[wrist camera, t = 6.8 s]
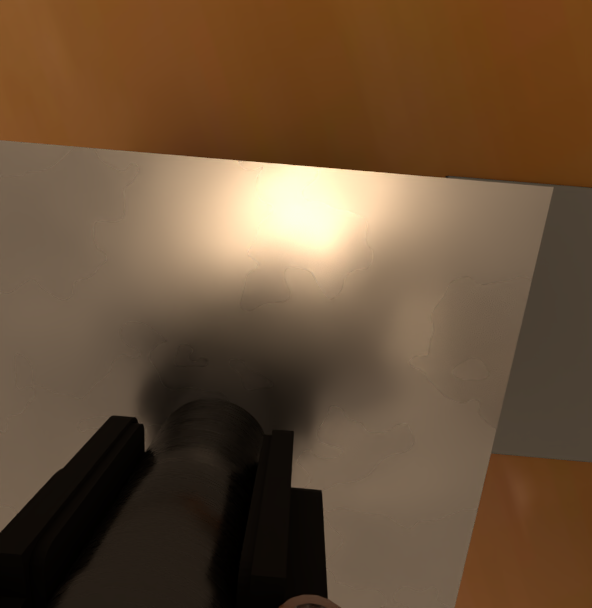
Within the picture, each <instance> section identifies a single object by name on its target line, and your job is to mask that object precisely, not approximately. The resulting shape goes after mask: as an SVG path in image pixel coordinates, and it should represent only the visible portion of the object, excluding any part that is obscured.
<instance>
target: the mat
mask: <svg viewBox="0 0 592 608" xmlns="http://www.w3.org/2000/svg"><path fill="white" fill-rule="evenodd" d="M446 178H451V179H463V180H475V181H487V182H499V183H510V184H522V185H534V186H546V187H554V188H553V193H552V197H551V201H550V205H549V210H548V214H547V218H546V222H545V226H544V231H543V235H542V239H541V243H540V248H539V252H538V256H537V260H536V265H535V269H534V273H533V277H532V281H531V286H530V290H529V294H528V298H527V303H526V307H525V311H524V315H523V320H522V324H521V328H520V332H519V336H518V341H517V345H516V349H515V353H514V358H513V362H512V366H511V370H510V375H509V379H508V383H507V387H506V391H505V396H504V400H503V404H502V408H501V413H500V417H499V421H498V425H497V430H496V434H495V438H494V442H493V446H492V451H491V453H494V454H505V455H516V456H527V457H538V458H550V459H561V460H572V461H583V462H592V188H586V187H574V186H562V185H550V184H538V183H526V182H514V181H502V180H490V179H479V178H467V177H455V176H446Z"/></svg>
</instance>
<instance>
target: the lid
mask: <svg viewBox="0 0 592 608" xmlns="http://www.w3.org/2000/svg"><path fill="white" fill-rule="evenodd" d="M553 188H554V187H546V186H534V185H522V184H510V183H499V182H487V181H475V180H463V179H451V178H439V177H427V176H416V175H404V174H392V173H380V172H368V171H356V170H345V169H333V168H321V167H309V166H297V165H285V164H274V163H262V162H250V161H238V160H226V159H214V158H202V157H191V156H179V155H167V154H155V153H143V152H131V151H120V150H108V149H96V148H84V147H72V146H60V145H48V144H37V143H25V142H13V141H1V140H0V532H1V531H2V530H3V529H4V528H5V527H6V526H7V524H8V523H9V522H10V521H11V520H12V519H13V518H14V517H15V516H16V515H17V514H18V513H19V512H20V510H21V509H22V508H23V507H24V506H25V505H26V504H27V503H28V502H29V501H30V500H31V499H32V498H33V496H34V495H35V494H36V493H37V492H38V491H39V490H40V489H41V488H42V487H43V486H44V485H45V484H46V483H47V481H48V480H49V479H50V478H51V477H52V476H53V475H54V474H55V473H56V472H57V471H58V470H60V469H62V468H64V466H65V465H66V464H67V463H68V462H69V461H70V460H71V459H72V458H73V457H74V456H75V454H76V453H77V452H78V451H79V450H80V449H81V448H82V447H83V446H84V445H85V444H86V442H87V441H88V440H89V439H90V438H91V437H92V436H93V435H94V434H95V433H96V432H97V430H98V429H99V428H100V427H101V426H102V425H103V424H104V423H105V422H106V421H107V420H108V419H109V417H111V416H113V415H116V416H128V417H136V418H137V420H138V423H139V424H143V425H144V433H145V453H144V455H143V456H142V458H141V459H140V461H139V462H138V464H137V466H136V467H135V469H134V470H133V472H132V473H131V475H130V476H129V478H128V479H127V481H126V483H125V484H124V486H123V487H122V489H121V490H120V492H119V493H118V495H117V496H116V498H115V500H114V501H113V503H112V504H111V506H110V507H109V509H108V510H107V512H106V513H105V515H104V517H103V518H102V520H101V521H100V523H99V524H98V526H97V527H96V529H95V530H94V532H93V533H92V535H91V537H90V538H89V540H88V541H87V543H86V544H85V546H84V547H83V549H82V550H81V552H80V554H79V555H78V557H77V558H76V560H75V561H74V563H73V564H72V566H71V567H70V569H69V571H68V572H67V574H66V575H65V577H64V578H63V580H62V581H61V583H60V584H59V586H58V588H57V589H56V591H55V592H54V594H53V595H52V597H51V598H50V600H49V601H48V603H47V605H46V606H45V608H236V597H237V582H238V573H239V565H240V559H241V553H242V548H243V542H244V537H245V532H246V526H247V521H248V515H249V510H250V505H251V499H252V494H253V489H254V483H255V478H256V472H257V467H258V462H259V456H260V451H261V446H262V440H263V435H264V434H265V435H272V431H273V429H277V430H288V431H294V441H293V459H292V477H291V487H294V488H305V489H316V490H322V498H323V516H324V535H325V553H326V572H327V590H328V599H329V600H331V601H332V602H334V603H335V604H336V605H338V606H339V607H341V608H454V607H455V603H456V599H457V595H458V590H459V586H460V582H461V578H462V573H463V569H464V565H465V561H466V556H467V552H468V548H469V544H470V540H471V535H472V531H473V527H474V523H475V518H476V514H477V510H478V506H479V501H480V497H481V493H482V489H483V485H484V480H485V476H486V472H487V468H488V463H489V459H490V455H491V451H492V446H493V442H494V438H495V434H496V430H497V425H498V421H499V417H500V413H501V408H502V404H503V400H504V396H505V391H506V387H507V383H508V379H509V375H510V370H511V366H512V362H513V358H514V353H515V349H516V345H517V341H518V336H519V332H520V328H521V324H522V320H523V315H524V311H525V307H526V303H527V298H528V294H529V290H530V286H531V281H532V277H533V273H534V269H535V265H536V260H537V256H538V252H539V248H540V243H541V239H542V235H543V231H544V226H545V222H546V218H547V214H548V210H549V205H550V201H551V197H552V193H553Z"/></svg>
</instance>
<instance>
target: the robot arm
mask: <svg viewBox="0 0 592 608" xmlns="http://www.w3.org/2000/svg"><path fill="white" fill-rule="evenodd" d="M293 441H294V431H288V430H277V429H273V431H272V435H265V434H264V435H263V440H262V446H261V451H260V456H259V462H258V467H257V472H256V478H255V483H254V489H253V494H252V499H251V505H250V510H249V515H248V521H247V526H246V532H245V537H244V542H243V548H242V553H241V559H240V565H239V573H238V582H237V597H236V608H341V607H339V606H338V605H336V604H335V603H334V602H332V601H331V600H329V599H328V590H327V572H326V553H325V535H324V516H323V498H322V490H316V489H305V488H294V487H291V477H292V459H293ZM144 453H145V433H144V425H143V424H139V423H138V420H137V418H136V417H128V416H116V415H113V416H111V417H109V419H108V420H107V421H106V422H105V423H104V424H103V425H102V426H101V427H100V428H99V429H98V430H97V432H96V433H95V434H94V435H93V436H92V437H91V438H90V439H89V440H88V441H87V442H86V444H85V445H84V446H83V447H82V448H81V449H80V450H79V451H78V452H77V453H76V454H75V456H74V457H73V458H72V459H71V460H70V461H69V462H68V463H67V464H66V465H65V466H64V468H62V469H60V470H58V471H57V472H56V473H55V474H54V475H53V476H52V477H51V478H50V479H49V480H48V481H47V483H46V484H45V485H44V486H43V487H42V488H41V489H40V490H39V491H38V492H37V493H36V494H35V495H34V496H33V498H32V499H31V500H30V501H29V502H28V503H27V504H26V505H25V506H24V507H23V508H22V509H21V510H20V512H19V513H18V514H17V515H16V516H15V517H14V518H13V519H12V520H11V521H10V522H9V523H8V524H7V526H6V527H5V528H4V529H3V530H2V531H1V532H0V608H45V606H46V605H47V603H48V601H49V600H50V598H51V597H52V595H53V594H54V592H55V591H56V589H57V588H58V586H59V584H60V583H61V581H62V580H63V578H64V577H65V575H66V574H67V572H68V571H69V569H70V567H71V566H72V564H73V563H74V561H75V560H76V558H77V557H78V555H79V554H80V552H81V550H82V549H83V547H84V546H85V544H86V543H87V541H88V540H89V538H90V537H91V535H92V533H93V532H94V530H95V529H96V527H97V526H98V524H99V523H100V521H101V520H102V518H103V517H104V515H105V513H106V512H107V510H108V509H109V507H110V506H111V504H112V503H113V501H114V500H115V498H116V496H117V495H118V493H119V492H120V490H121V489H122V487H123V486H124V484H125V483H126V481H127V479H128V478H129V476H130V475H131V473H132V472H133V470H134V469H135V467H136V466H137V464H138V462H139V461H140V459H141V458H142V456H143V455H144Z"/></svg>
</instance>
